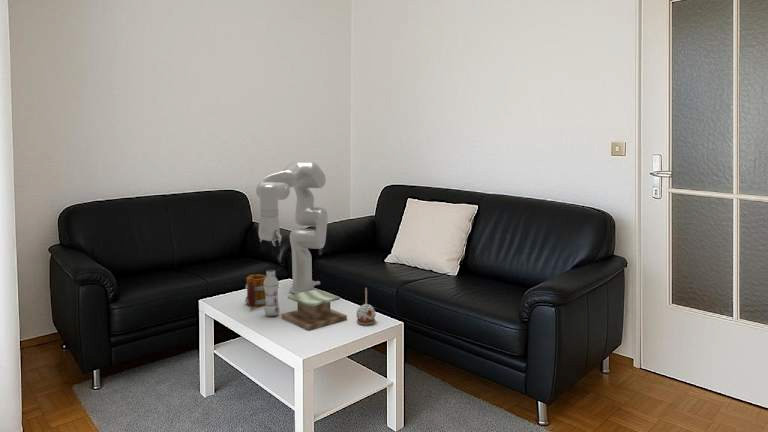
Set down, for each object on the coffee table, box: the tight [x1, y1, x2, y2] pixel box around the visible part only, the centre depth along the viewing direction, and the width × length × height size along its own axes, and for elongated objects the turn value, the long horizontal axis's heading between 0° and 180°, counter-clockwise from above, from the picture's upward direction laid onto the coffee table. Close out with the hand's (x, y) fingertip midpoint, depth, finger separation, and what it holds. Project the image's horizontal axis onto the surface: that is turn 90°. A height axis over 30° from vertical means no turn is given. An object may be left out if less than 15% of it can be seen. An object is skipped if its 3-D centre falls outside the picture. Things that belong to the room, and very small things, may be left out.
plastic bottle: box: [263, 269, 281, 317], centre depth 261 cm, size 6×7×20 cm
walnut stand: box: [281, 288, 348, 331], centre depth 257 cm, size 20×20×10 cm
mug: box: [244, 274, 267, 309], centre depth 275 cm, size 11×16×15 cm, turn 174°
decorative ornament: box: [356, 287, 376, 326], centre depth 253 cm, size 8×8×15 cm
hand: (270, 252), depth 257 cm, fingers open, 9 cm apart
